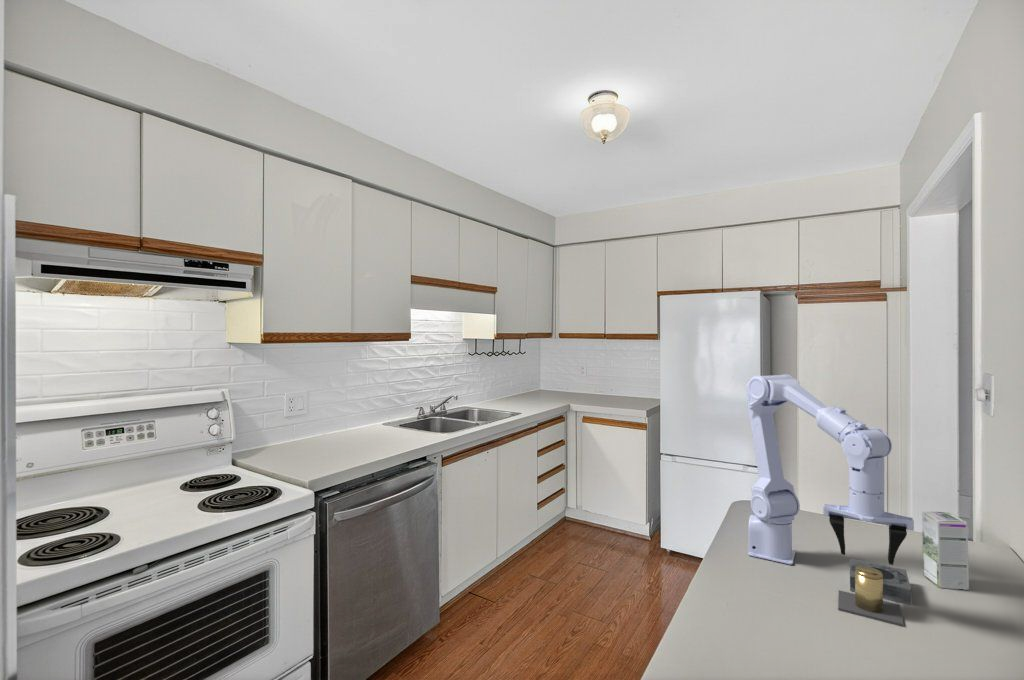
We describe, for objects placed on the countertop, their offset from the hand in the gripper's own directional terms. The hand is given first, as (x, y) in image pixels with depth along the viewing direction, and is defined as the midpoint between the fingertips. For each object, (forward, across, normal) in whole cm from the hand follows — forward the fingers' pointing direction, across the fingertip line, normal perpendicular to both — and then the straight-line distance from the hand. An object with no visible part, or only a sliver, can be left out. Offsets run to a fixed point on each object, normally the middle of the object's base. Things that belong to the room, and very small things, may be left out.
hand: (866, 557), depth 97 cm
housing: (+9, +2, +9) cm, 13 cm away
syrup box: (+10, +14, +20) cm, 26 cm away
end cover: (+9, 0, -2) cm, 9 cm away
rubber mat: (+9, 0, -2) cm, 9 cm away
